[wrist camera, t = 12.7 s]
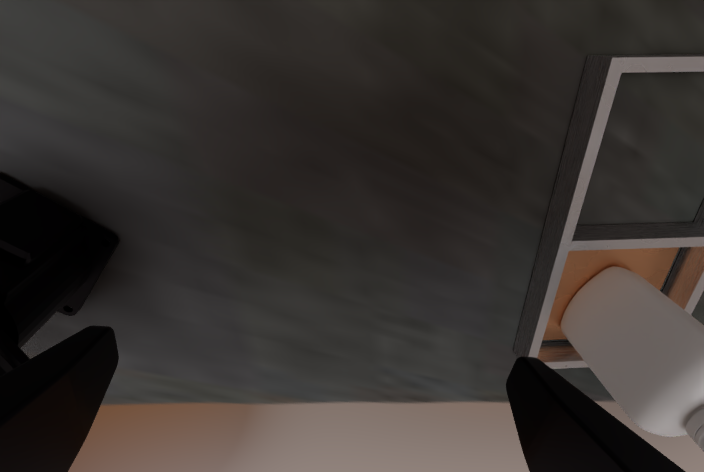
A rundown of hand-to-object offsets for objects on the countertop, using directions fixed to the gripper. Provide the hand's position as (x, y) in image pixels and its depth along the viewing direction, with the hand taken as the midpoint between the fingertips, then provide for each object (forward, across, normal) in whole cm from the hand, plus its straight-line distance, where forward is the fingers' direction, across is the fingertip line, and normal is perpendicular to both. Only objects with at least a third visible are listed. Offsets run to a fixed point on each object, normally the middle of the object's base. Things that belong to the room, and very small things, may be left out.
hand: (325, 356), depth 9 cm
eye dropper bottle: (+13, -18, +6) cm, 23 cm away
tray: (+13, -18, +1) cm, 22 cm away
